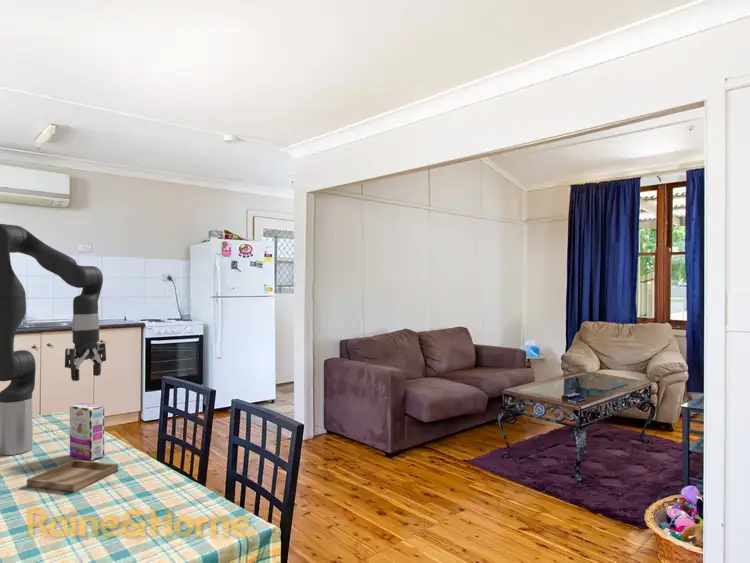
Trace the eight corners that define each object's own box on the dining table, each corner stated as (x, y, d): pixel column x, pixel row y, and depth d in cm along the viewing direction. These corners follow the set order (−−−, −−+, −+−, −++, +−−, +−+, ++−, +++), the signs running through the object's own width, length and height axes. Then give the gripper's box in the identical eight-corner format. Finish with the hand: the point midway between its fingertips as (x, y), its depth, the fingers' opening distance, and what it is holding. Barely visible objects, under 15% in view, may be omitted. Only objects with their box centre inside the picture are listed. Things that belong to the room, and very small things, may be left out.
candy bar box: (105, 456, 167) (105, 406, 167) (90, 461, 163) (90, 409, 163) (83, 451, 172) (83, 402, 172) (69, 456, 168) (68, 405, 168)
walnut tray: (26, 486, 144) (26, 479, 144) (74, 466, 159) (74, 459, 159) (73, 492, 139) (73, 485, 139) (117, 471, 155) (117, 464, 155)
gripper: (93, 325, 175) (94, 373, 175) (57, 329, 161) (58, 381, 161) (112, 326, 173) (112, 374, 173) (77, 330, 159) (77, 383, 159)
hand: (86, 378), depth 167 cm, fingers open, 8 cm apart
